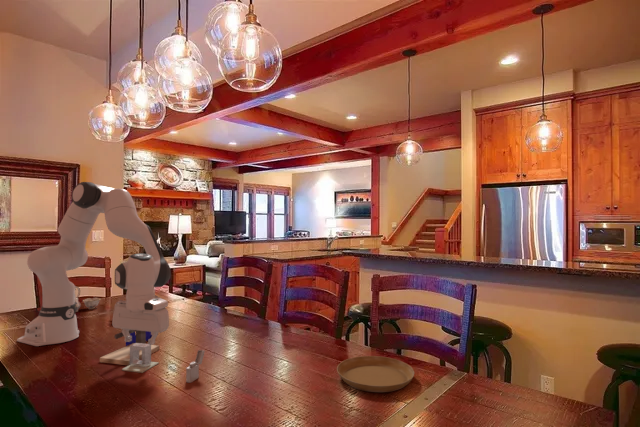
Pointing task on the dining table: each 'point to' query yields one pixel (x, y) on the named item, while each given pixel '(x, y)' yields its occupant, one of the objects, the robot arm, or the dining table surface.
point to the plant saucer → (375, 373)
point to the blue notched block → (148, 336)
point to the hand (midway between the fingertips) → (139, 342)
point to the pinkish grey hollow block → (135, 355)
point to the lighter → (194, 367)
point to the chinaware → (86, 301)
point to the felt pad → (137, 369)
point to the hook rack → (127, 350)
